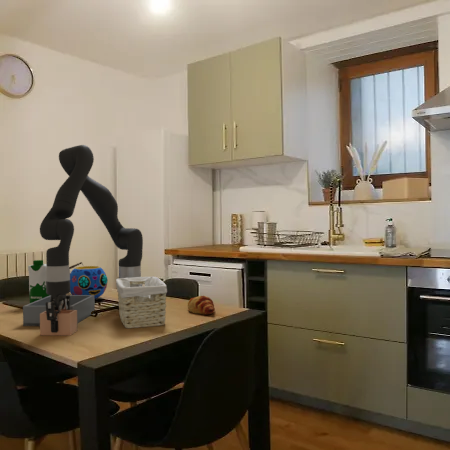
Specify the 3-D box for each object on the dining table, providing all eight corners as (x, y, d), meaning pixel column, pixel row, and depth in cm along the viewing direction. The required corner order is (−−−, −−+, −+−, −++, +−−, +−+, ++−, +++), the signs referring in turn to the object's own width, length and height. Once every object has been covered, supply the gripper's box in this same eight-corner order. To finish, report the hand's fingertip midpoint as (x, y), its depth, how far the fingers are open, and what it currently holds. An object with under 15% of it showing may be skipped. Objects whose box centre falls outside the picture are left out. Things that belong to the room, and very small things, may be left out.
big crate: (94, 312, 180) (94, 295, 180) (72, 326, 158) (72, 306, 158) (50, 312, 181) (50, 295, 181) (23, 326, 159) (22, 306, 159)
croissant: (184, 315, 189) (176, 300, 187) (203, 302, 193) (195, 286, 191) (206, 325, 170) (197, 307, 168) (227, 310, 174) (218, 293, 172)
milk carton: (26, 308, 191) (25, 261, 190) (37, 304, 200) (36, 259, 199) (46, 308, 190) (45, 261, 190) (56, 304, 199) (55, 258, 199)
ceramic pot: (76, 304, 197) (76, 270, 196) (62, 299, 210) (61, 267, 210) (114, 299, 208) (113, 267, 207) (98, 294, 221) (97, 264, 221)
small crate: (77, 330, 152) (77, 309, 152) (70, 335, 146) (69, 313, 146) (48, 330, 153) (48, 309, 153) (40, 335, 147) (39, 313, 147)
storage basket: (168, 326, 157) (168, 284, 157) (121, 330, 152) (120, 287, 152) (157, 312, 180) (156, 275, 179) (115, 315, 175) (115, 277, 174)
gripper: (59, 282, 142) (60, 335, 142) (77, 276, 156) (78, 324, 156) (36, 282, 142) (37, 335, 142) (56, 276, 156) (57, 324, 157)
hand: (59, 329), depth 149 cm, fingers closed on small crate, 6 cm apart
